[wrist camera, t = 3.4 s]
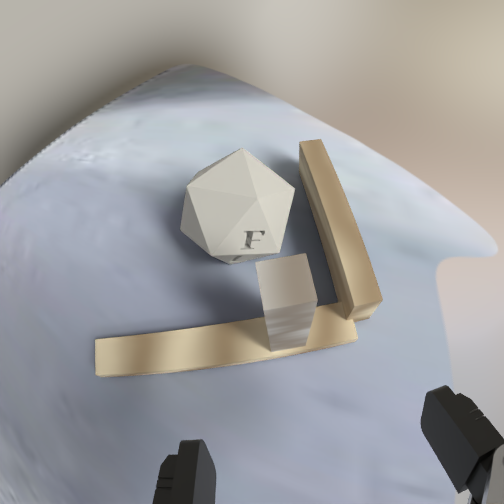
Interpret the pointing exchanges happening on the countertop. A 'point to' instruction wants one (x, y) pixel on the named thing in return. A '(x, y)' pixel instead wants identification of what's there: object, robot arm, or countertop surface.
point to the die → (237, 209)
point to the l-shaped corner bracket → (271, 298)
